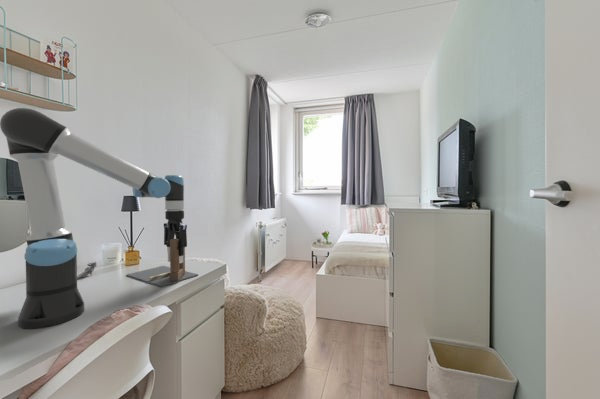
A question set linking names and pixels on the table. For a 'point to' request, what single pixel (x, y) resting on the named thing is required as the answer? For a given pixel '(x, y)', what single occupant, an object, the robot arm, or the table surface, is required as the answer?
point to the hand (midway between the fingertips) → (175, 261)
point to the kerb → (160, 276)
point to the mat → (151, 272)
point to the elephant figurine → (88, 269)
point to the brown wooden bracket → (176, 261)
